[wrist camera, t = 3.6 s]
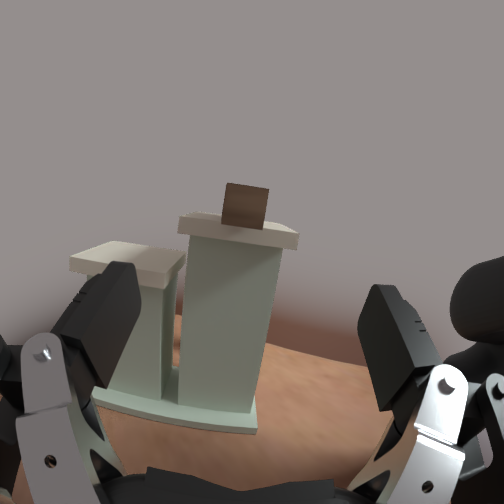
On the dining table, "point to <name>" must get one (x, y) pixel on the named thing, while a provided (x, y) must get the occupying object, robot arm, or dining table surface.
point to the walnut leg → (244, 206)
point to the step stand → (196, 323)
